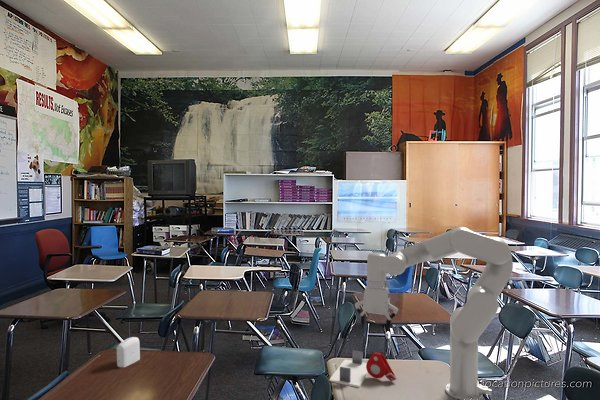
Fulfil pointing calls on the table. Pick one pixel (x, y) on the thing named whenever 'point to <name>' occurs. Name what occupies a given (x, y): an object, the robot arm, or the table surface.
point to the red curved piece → (379, 367)
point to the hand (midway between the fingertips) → (375, 327)
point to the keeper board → (351, 371)
